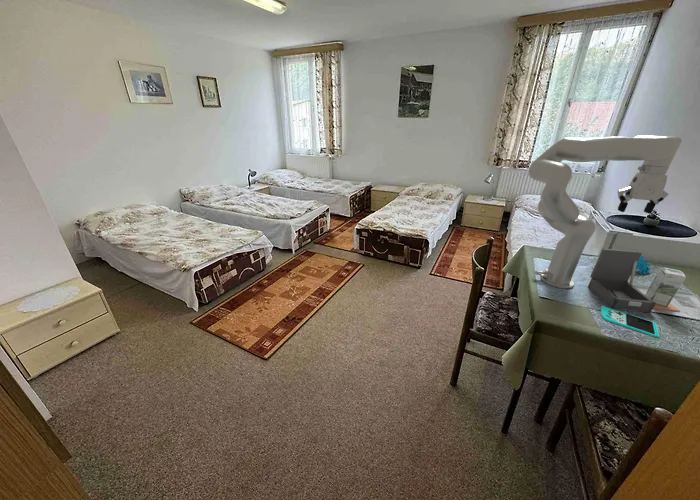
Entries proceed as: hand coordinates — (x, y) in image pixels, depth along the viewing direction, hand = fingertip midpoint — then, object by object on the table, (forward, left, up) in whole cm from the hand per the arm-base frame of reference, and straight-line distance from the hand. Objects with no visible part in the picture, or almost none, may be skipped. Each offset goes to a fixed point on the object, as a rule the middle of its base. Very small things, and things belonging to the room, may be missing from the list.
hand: (633, 211), depth 119 cm
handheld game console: (-8, -31, -34) cm, 47 cm away
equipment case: (-3, -16, -33) cm, 37 cm away
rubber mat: (+11, -16, -33) cm, 39 cm away
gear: (+24, +14, -34) cm, 43 cm away
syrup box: (+11, -16, -33) cm, 38 cm away
